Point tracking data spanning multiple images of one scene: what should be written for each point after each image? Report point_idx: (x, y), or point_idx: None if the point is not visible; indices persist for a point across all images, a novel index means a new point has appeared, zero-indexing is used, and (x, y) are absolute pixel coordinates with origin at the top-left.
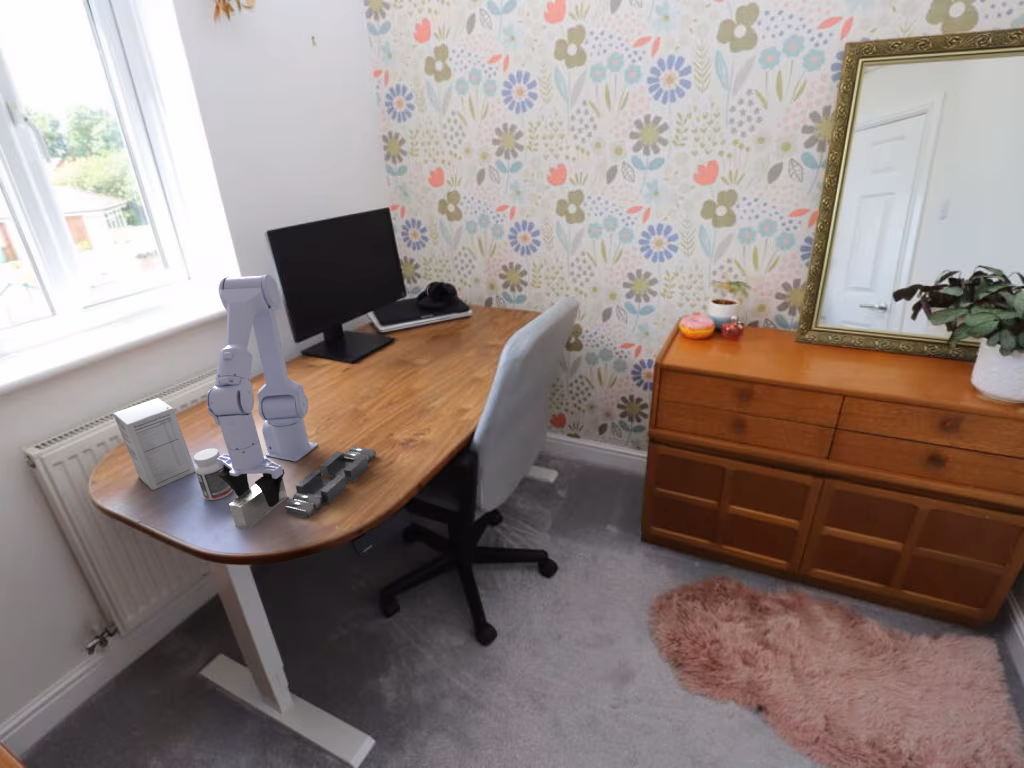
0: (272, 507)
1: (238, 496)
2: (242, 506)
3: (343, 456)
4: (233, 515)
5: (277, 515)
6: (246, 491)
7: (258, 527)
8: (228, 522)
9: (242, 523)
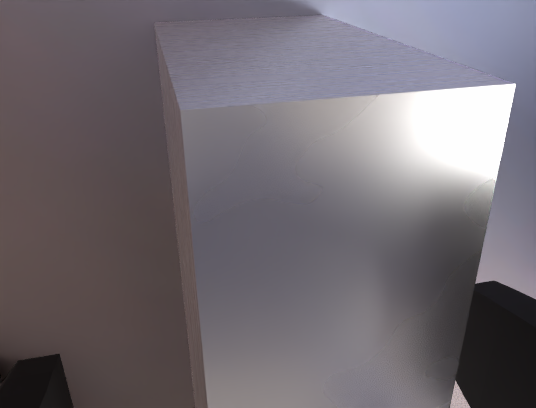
0: (188, 342)
1: (525, 304)
2: (187, 153)
3: None
4: (366, 38)
5: (56, 298)
6: None
7: (66, 96)
8: (440, 36)
9: (218, 30)
